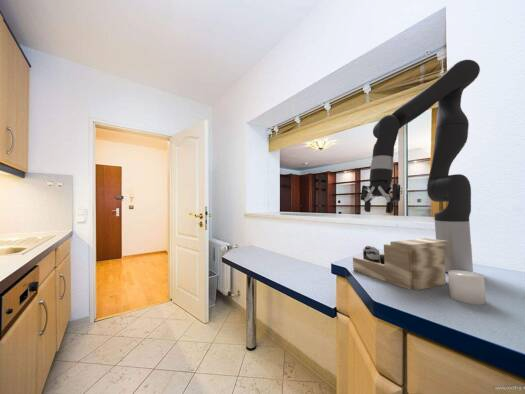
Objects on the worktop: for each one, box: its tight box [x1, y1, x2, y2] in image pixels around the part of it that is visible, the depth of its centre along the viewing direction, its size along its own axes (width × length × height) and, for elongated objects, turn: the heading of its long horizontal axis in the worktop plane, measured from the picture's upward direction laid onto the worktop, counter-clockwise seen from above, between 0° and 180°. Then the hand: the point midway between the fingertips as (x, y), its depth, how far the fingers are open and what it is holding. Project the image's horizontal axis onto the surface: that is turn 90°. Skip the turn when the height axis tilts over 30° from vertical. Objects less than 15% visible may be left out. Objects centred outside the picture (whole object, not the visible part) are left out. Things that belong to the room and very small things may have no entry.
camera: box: [362, 245, 385, 265], centre depth 78 cm, size 13×8×9 cm, turn 169°
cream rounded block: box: [447, 270, 487, 306], centre depth 53 cm, size 6×6×6 cm
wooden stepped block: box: [352, 237, 448, 291], centre depth 71 cm, size 16×22×12 cm
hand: (377, 212), depth 81 cm, fingers open, 8 cm apart
